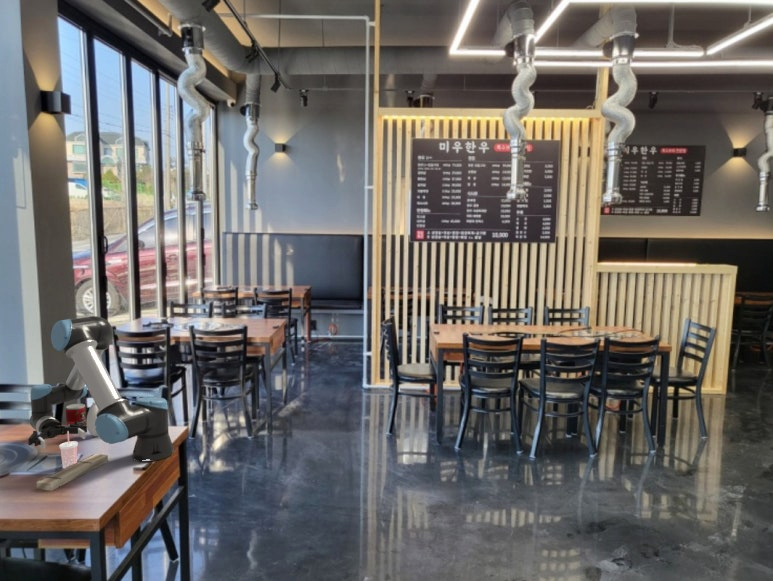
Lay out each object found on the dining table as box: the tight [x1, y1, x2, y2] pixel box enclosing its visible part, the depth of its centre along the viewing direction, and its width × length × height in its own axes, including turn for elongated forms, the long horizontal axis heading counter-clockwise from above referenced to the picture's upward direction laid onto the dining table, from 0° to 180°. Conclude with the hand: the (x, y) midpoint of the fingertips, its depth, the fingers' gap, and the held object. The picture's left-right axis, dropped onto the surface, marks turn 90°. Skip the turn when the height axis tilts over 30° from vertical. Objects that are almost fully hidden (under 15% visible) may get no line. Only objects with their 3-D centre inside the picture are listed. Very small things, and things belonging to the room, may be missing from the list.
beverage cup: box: [58, 431, 79, 469], centre depth 200 cm, size 6×6×14 cm
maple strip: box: [36, 453, 109, 492], centre depth 194 cm, size 6×26×3 cm, turn 166°
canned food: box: [65, 403, 87, 426], centre depth 242 cm, size 8×8×11 cm
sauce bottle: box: [86, 401, 99, 437], centre depth 234 cm, size 8×8×18 cm
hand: (64, 440), depth 202 cm, fingers open, 13 cm apart
